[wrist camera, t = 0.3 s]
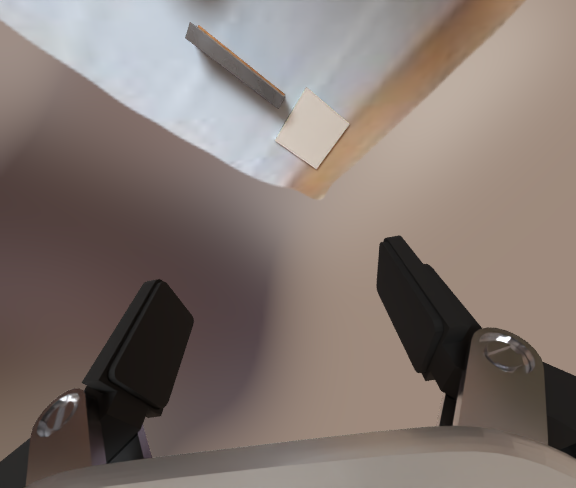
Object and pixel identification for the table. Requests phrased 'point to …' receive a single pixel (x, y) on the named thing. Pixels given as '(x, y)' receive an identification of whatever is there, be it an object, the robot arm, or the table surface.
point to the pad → (311, 129)
